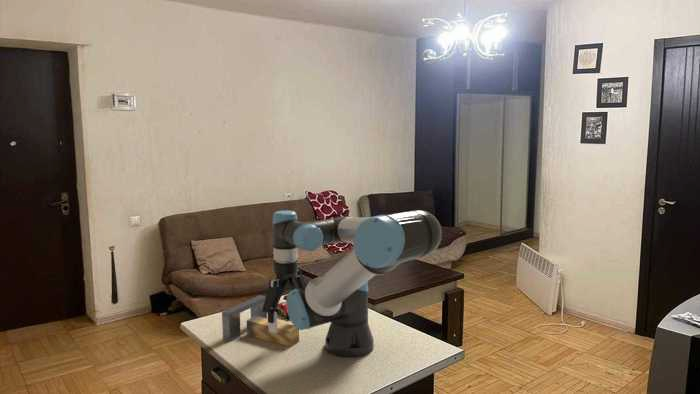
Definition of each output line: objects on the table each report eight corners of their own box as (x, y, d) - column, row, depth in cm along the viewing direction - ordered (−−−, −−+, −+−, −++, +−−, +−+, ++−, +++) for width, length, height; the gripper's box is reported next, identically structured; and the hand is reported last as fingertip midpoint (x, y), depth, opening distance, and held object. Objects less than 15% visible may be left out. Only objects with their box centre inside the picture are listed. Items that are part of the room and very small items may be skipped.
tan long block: (299, 341, 167) (298, 326, 166) (290, 346, 163) (290, 331, 162) (256, 330, 176) (255, 315, 175) (247, 334, 172) (246, 320, 171)
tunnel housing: (267, 322, 183) (266, 296, 181) (229, 341, 167) (228, 313, 165) (260, 320, 184) (259, 295, 183) (223, 339, 168) (221, 311, 167)
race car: (303, 318, 187) (303, 308, 186) (290, 322, 184) (290, 311, 183) (284, 308, 197) (284, 298, 197) (272, 311, 194) (271, 301, 193)
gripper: (299, 249, 175) (300, 309, 178) (249, 268, 154) (251, 335, 157) (317, 252, 171) (318, 314, 175) (269, 272, 150) (270, 341, 153)
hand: (286, 324), depth 166 cm, fingers open, 13 cm apart
